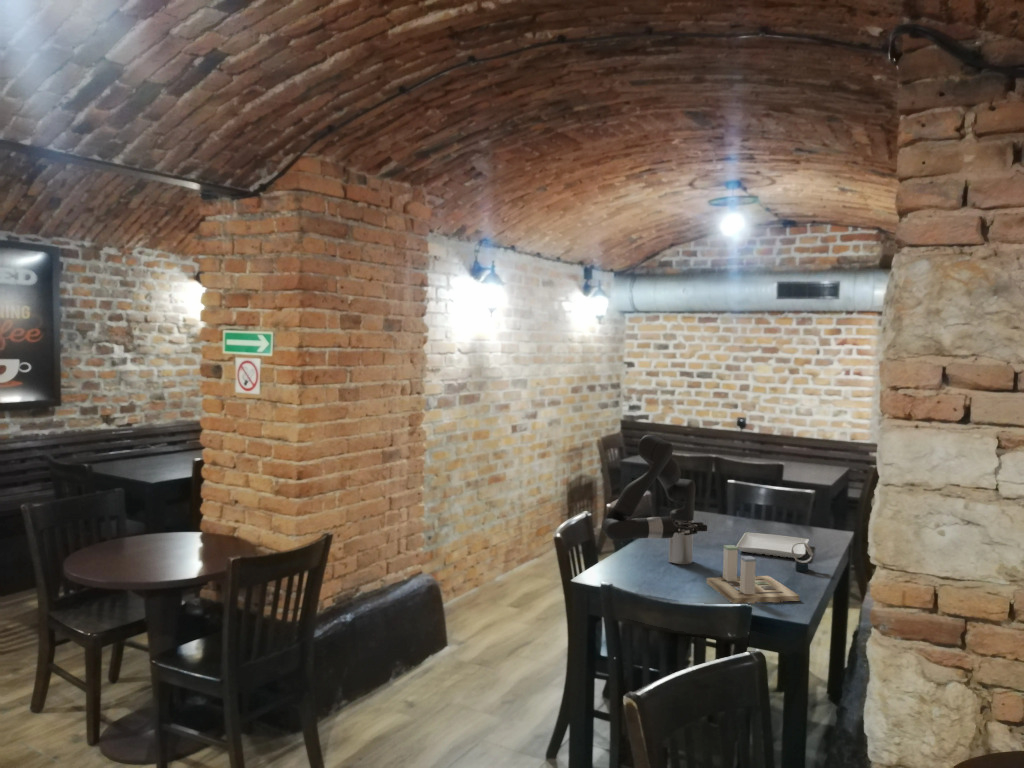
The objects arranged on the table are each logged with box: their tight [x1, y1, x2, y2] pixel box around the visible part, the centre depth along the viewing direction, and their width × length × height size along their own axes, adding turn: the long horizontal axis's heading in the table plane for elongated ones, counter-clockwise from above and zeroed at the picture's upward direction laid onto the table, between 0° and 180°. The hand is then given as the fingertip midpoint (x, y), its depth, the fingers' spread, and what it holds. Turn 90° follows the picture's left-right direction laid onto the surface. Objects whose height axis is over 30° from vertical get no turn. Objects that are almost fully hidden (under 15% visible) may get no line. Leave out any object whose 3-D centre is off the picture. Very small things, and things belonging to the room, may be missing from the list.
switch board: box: [706, 575, 800, 604], centre depth 269 cm, size 24×22×2 cm
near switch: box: [739, 555, 757, 594], centre depth 261 cm, size 4×4×12 cm
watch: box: [791, 541, 814, 573], centre depth 295 cm, size 6×8×11 cm
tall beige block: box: [721, 544, 739, 581], centre depth 274 cm, size 4×4×12 cm
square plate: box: [735, 532, 810, 559], centre depth 324 cm, size 27×27×4 cm
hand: (704, 526), depth 272 cm, fingers open, 3 cm apart
